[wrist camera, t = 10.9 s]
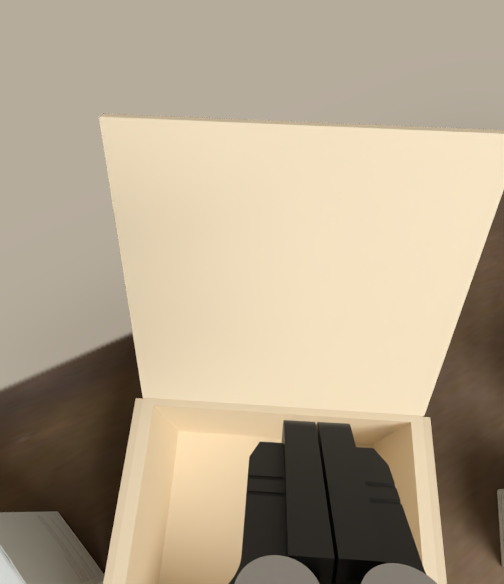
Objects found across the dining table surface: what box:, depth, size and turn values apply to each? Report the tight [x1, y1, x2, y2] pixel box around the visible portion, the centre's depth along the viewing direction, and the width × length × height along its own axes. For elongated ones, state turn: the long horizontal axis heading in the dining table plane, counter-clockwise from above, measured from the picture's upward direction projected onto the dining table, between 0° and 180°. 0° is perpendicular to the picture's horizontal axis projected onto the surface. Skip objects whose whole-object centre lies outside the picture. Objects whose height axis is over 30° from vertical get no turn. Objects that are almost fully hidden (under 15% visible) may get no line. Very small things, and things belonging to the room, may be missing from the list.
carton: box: [103, 398, 447, 584], centre depth 33 cm, size 20×18×12 cm
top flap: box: [99, 114, 504, 416], centre depth 25 cm, size 19×18×1 cm
